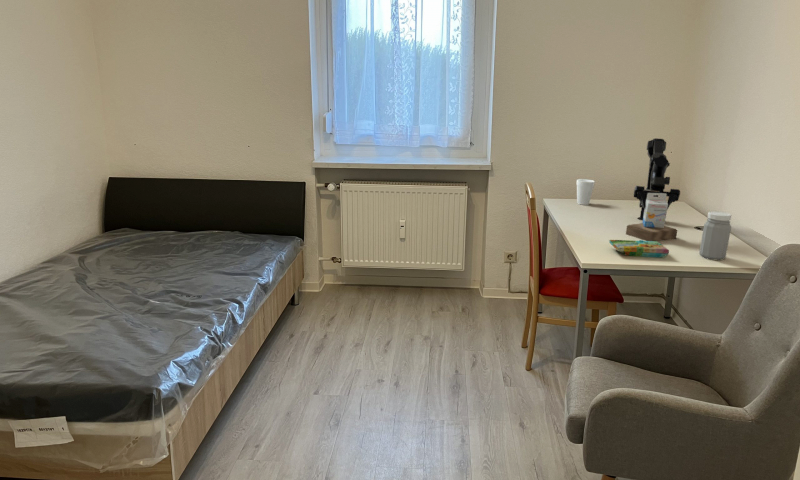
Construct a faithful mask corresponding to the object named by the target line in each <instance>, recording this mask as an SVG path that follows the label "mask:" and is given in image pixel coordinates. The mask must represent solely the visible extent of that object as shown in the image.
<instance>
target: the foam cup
mask: <svg viewBox="0 0 800 480" xmlns="http://www.w3.org/2000/svg"><path fill="white" fill-rule="evenodd" d="M595 183H596V182H595V180H592V179H585V178H578V179H576V183H575V184H576V203H578V205H580V204H581V205H580V206H588V205H589V204H590V203H591V202H590V201H591V198H592V194H593V191H594V186H595Z"/></svg>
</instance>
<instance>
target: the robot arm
mask: <svg viewBox="0 0 800 480" xmlns="http://www.w3.org/2000/svg"><path fill="white" fill-rule="evenodd" d="M666 147H667V141H665V139H663V138H652V139H651V140H647V144H646V151H647V156H648V157H649V164H648V165H649V166H648V174H647V184H646V187H645V186H643V185H636V186H635V187H634V191H633V197H634V198H635V199H637V200H639V205H638V207H639V208H640V209H641V210H640V215H639V217H637V219H638V220H642V221H643V216H644V210H645V203H646V199H647V194H648V193H666V194H667V195H666V197H668V199H667V203H668V208H667V211H668V209H669V208H670V206H671V205H672V203H675V202H678V201H679V198H680V197H681V196H680V195H681V190H680V189H677V188H670V190H669V191H665V189H666V185H667V186H669V184H670V181H671V177H670V176H665V173H666V172H667V168H669V167H670V164H671V163H670V162H669V160H668V158H667V156H666V155H665V154H664V152H665V151H666V150H667V148H666ZM653 197H659V196H658V195H654V196H653Z"/></svg>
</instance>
